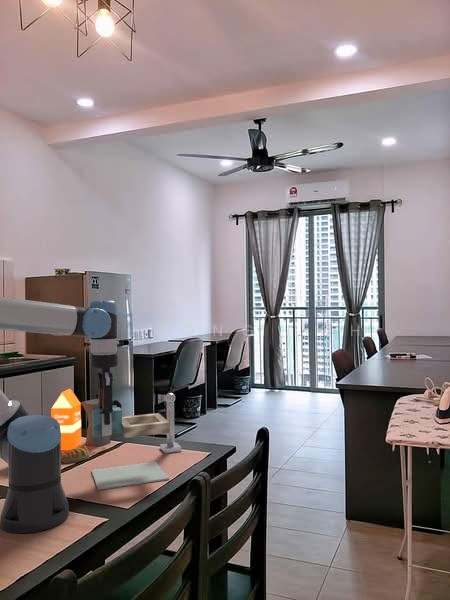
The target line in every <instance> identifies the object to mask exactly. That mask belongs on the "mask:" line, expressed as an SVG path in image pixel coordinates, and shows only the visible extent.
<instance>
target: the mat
mask: <svg viewBox="0 0 450 600" xmlns="http://www.w3.org/2000/svg"><path fill="white" fill-rule="evenodd" d="M90 472H91V474H92V477H93V480H94V482H95V485H96V488H97V491H102V490H107V489H108V490H110V489H114V488H123V487H128V486H135V485H143V484H149V483H155V482H162V481H163V482H165V481H169V480H170V477H169V475H167V474H166V472H165V471H164V470H163V468H162V467H161V466H160V465H159V463H158V462H157V461H150V462H141V463H133V464H126V465H118V466H111V467H103V468H102V467H101V468H97V469H95V468H94V469H91V471H90Z"/></svg>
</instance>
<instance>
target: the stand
mask: <svg viewBox="0 0 450 600" xmlns="http://www.w3.org/2000/svg"><path fill="white" fill-rule="evenodd" d="M164 400H165V402H166V420H167V421H168V422H169V433H166V443H160V444H159V445H160V446H159V448H160V450H161V451H162V452H163V453H164V454H171V453H179V452H182V451H183V450H182V448H183V447H182V446H181V445H180V444H179V442H176V441H175V401H176V394H174V393H172V392H168V393H167V394H165V397H164Z"/></svg>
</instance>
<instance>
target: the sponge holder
mask: <svg viewBox="0 0 450 600" xmlns="http://www.w3.org/2000/svg"><path fill="white" fill-rule="evenodd" d="M112 409H113V411H112V412H111V415H112V435H111V436H116V435H122V437H124V439H128V438H136V437H143V436H144V437H146V436H152V435H162V434H163V435H164V434H167V433H169V422H168V421H167V418H166V417H164V416H162V415H161V414H160V413H159V412H157V413H146V414H137V415H126V416H123V411H122V408H121V409H120V407H117V406H116V407H112ZM100 412H102V409H96V410H92V434H93V436H94V437H101V436H102V414H100Z"/></svg>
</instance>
